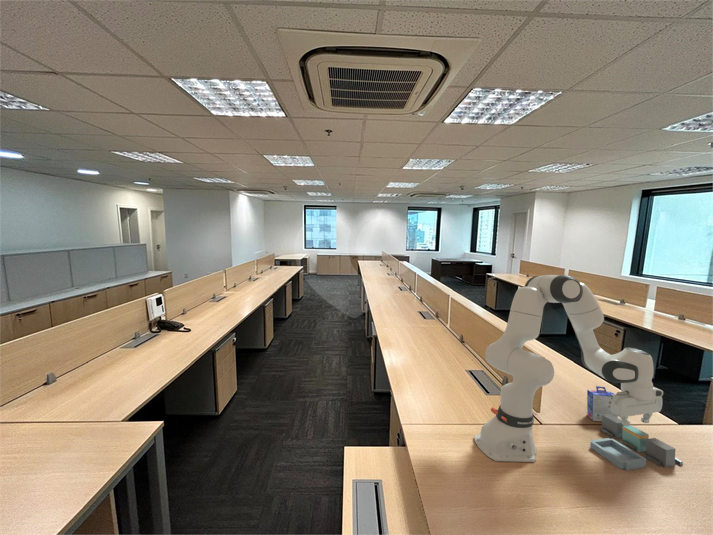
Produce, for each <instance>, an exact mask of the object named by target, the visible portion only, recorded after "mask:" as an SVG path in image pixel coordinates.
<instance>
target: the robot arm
mask: <svg viewBox="0 0 713 535" xmlns="http://www.w3.org/2000/svg"><path fill="white" fill-rule="evenodd" d="M547 303H553V304H555V303H556V304H558V303H559V304H560V303H561V305H562V306H563V308H564V310H565V313H566V315H567V317H568V319H569V322H570V323H571V326H572V328H573V329H572V330H573V331H574V333H575V337H576V339H577V341H578V344H579V347H580V358H581V359H580V361H581V363H582V364H583V366H584V367H585V368H587V369H588V370H590V371H591V372H594V373H595V374H597V375H598V376H600V377H601V378H603V379H605V380H606V381H608V382H610V383H613V384H620V391H618V392H616V393H614V394H615V395H614V396H613V398H612V402H611V412H612V413H613V414H615V415H617V416H618V418H619V419H620V420H622V425H624V426H630V425H631V422H630V421H629V420H628V419H629V417H633V416H639V415H643V416H641V417H640V418H641V419H640V421H641V422H642V423H644V424H649V423H650V419H651V418H652V416H653V414H654V413H660V412H661V410H662V408H663V395H664V391H663V390H662V389H660V388H657V387H655V386H654V383H653V381H652V380H653V377H654V370H655V369H654V360H653V357H652V356H651V354H650V353H649V352H646V351H644V350H641V349H638V348H635V347H625V348H623V350H621V351H620V352H617V353H613V354H610V353H609V352H607V351H605V350H604V349H603V348H602V347H601V346H600V345H599V342H598V341H597V337H596V335H595V333H594V330H595V329H598V328H599V327H600V326H601V325H602V324H604V321H605V316H604V313H603V310H602V308H601V305H600V303H599V302H598V300H597V298H596V297H595V294H594V293H593V292H592V290H591V289H590V288H589V287H588V286H587V285H586V283H584V282H581V281H579V280H578V279H576V278H575V277H573V276H570V275H567V274H561V275H559V274H544V275H535V276H532V277H530V278H528V279H527V281H526V282H525V284H524V286H522V287H519V288H518V289H517V290H516V292H515V294H514V296H513V299H512V302H511V306H510V311H509V315H508V320H507V323H506V328H505V330H504V332H503V334H502V335H501V336H500V337H499V339H497V340H496V341H494V342H492V343H490V344H489V345H487V347H486V349H485V352H484V353H485V354H484V357H485V361H486V362H487V363H488V365H490V366H492V367H493V368H495V370H499V371H501V372H503V373H505V374H508V375H510V376H512V379H513V380H512V382H509V383H506V384H504V385H503V386H502V387H501V389H500V398H499V399H500V401H499V402H500V403H499V406H498V409H496V407H495V406H492V407H491V408H490V411H491V413H493V414H494V415H495V416H494V417H492V418H491V419H489V420H488V421H487V422H486V423H484V424H483V425H482V426H481V429H480V433H478V434H475V435H473V436H474V437H473V438H474V439H473V440H474V443H475V444H477V445H476V446H477V447H478V449H479V450H480V451H481V452H482V453H484V455H485V456H487V457H488V458H489V459H491V460H493V461H495V462H517V463H518V462H521V463H522V462H526V463H535V462H536V455H537V447H536V442H535V439H534V438H535V437H534V430H533V426H534V422H535V420H534V413H533V404H534V396H535V394H536V392H537V390H538V389H540V388H541V387H543V386H547V385H548V384H550V383H551V382H552V381H553V379H554V378H555V367H554V365H553V363H552V361H550V360H549V359H547V358H545V357H544V356H542V355H540V354H537V353H534V352H532V351H528V350H525V349H523V347H524V345H525V344H526V343H527V342H529V341H533V340H536V339H537V338H538V337H539V336H540V331H541V325H542V322H543V321H542V319H543V314H544V307H545V305H546V304H547Z"/></svg>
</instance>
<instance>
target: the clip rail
mask: <svg viewBox="0 0 713 535" xmlns="http://www.w3.org/2000/svg"><path fill="white" fill-rule="evenodd" d="M600 432H602V433H603V434H605V435H607V436H608V437H610V438H615V437H614V434H613V433H612V432H610V431H608V430H607V429H605V428H603V427H602V426H601V427H600ZM620 443H621V444H622V445H624V446H626V447H627V448H629V449H631V450H632V451H634V452H635V451H637V450H636V447H635V446H634V445H632V444H630V443H629V442H627V441H625V440H624V439H623V440H622V439H621V442H620ZM644 458H646V460H647V461H650V462H651V463H653V464H655V465H656V466H658V467H663V466H662V462H661V461H659V460H658V459H656V458H654V457H653V456H651V455H649V454H647V453H646V452H645V453H644ZM675 464H678V465H679V466H683V464H684V461H682V460H680V459H679V458H677V457H675Z"/></svg>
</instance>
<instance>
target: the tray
mask: <svg viewBox="0 0 713 535" xmlns="http://www.w3.org/2000/svg"><path fill="white" fill-rule="evenodd" d="M589 445H590V447H589V448H590V449H592V451H594V452H596V453H597V454H599V455H601V457H603V458H605V459H606V460H608V461H609V462H610V463H612V464H613V465H615V466H616V467H618V468H619V469H621V470H626V471H629V470H630V471H631V470H637V469H638V470H639V469H644V468H646V466H647V459H646V458H645V456H643V455H640V454H639V453H637V452H635V451H633V450H631V449H630V448H628V447H626V446H625V445H623V444H622V443H621V442H619V441H617V439H614V438H609V437H607V438H606V437H605V438H599V439H598V438H597V439H591V441H590V444H589Z"/></svg>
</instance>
